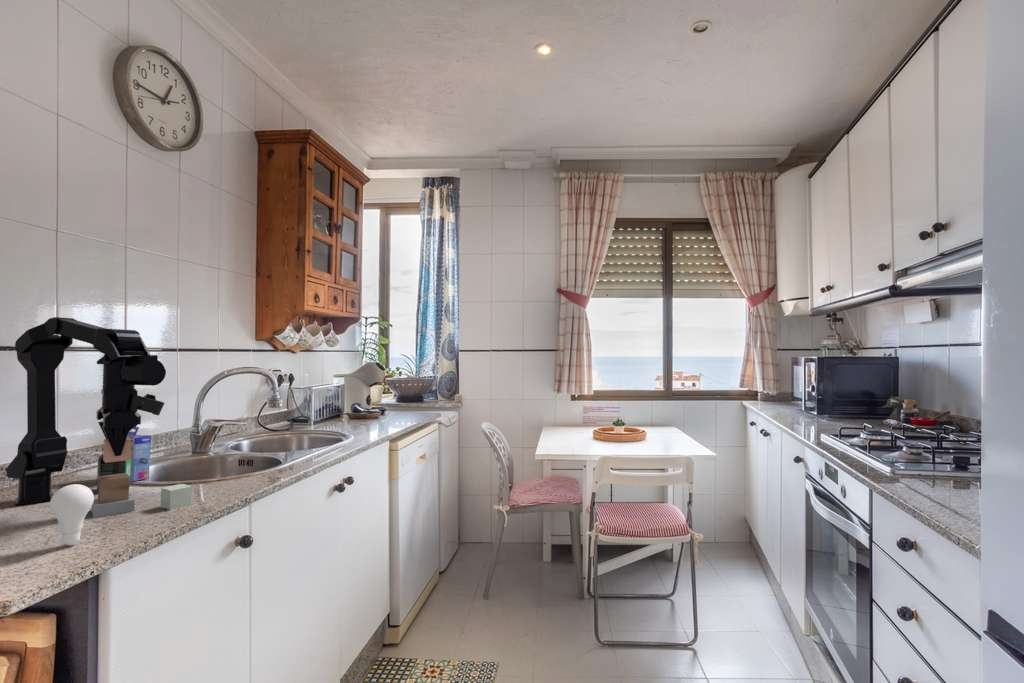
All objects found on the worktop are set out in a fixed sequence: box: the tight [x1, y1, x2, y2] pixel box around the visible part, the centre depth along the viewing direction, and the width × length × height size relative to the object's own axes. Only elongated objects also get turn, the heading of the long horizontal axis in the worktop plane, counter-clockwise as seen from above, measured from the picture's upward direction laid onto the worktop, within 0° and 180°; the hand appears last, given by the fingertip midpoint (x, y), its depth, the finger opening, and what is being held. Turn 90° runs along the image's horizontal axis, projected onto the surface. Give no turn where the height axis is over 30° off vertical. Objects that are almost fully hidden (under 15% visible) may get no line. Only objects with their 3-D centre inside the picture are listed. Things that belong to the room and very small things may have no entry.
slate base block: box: [90, 493, 135, 519], centre depth 114 cm, size 7×7×3 cm
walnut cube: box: [97, 473, 130, 504], centre depth 114 cm, size 5×5×5 cm
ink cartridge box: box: [127, 426, 152, 483], centre depth 143 cm, size 10×6×14 cm, turn 78°
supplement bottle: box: [96, 443, 131, 492], centre depth 132 cm, size 7×7×12 cm
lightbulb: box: [49, 483, 95, 547], centre depth 93 cm, size 6×6×11 cm
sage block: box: [160, 483, 193, 511], centre depth 118 cm, size 4×4×4 cm
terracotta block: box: [102, 437, 131, 463], centre depth 115 cm, size 4×4×4 cm
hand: (116, 454), depth 114 cm, fingers closed on terracotta block, 4 cm apart
